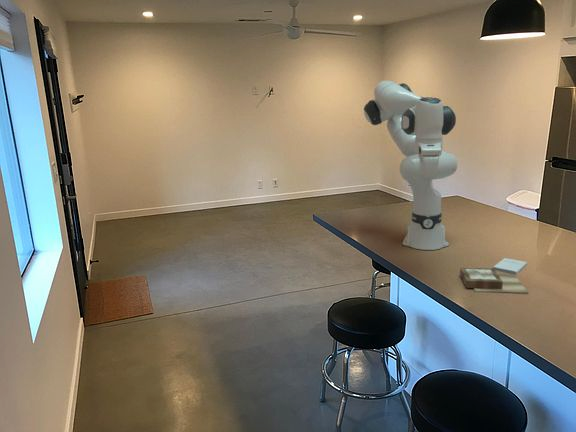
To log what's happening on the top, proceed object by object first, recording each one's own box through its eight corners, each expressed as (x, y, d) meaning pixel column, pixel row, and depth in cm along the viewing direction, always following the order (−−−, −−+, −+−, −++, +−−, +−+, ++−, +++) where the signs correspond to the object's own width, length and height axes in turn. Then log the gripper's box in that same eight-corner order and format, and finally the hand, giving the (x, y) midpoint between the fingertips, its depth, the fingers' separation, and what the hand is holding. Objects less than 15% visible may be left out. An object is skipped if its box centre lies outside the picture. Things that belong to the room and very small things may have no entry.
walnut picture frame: (460, 267, 164) (493, 268, 162) (459, 274, 165) (493, 275, 163) (466, 280, 153) (502, 281, 151) (466, 287, 153) (502, 289, 151)
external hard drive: (492, 270, 169) (503, 261, 178) (516, 276, 164) (527, 266, 173) (492, 266, 169) (504, 257, 178) (516, 271, 164) (527, 261, 172)
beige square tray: (465, 273, 166) (465, 272, 166) (513, 275, 164) (513, 274, 163) (474, 291, 151) (475, 290, 151) (528, 293, 148) (528, 292, 148)
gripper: (416, 144, 168) (414, 182, 172) (421, 150, 149) (420, 193, 152) (434, 143, 167) (432, 182, 171) (442, 150, 148) (440, 193, 151)
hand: (426, 187), depth 161 cm, fingers closed
